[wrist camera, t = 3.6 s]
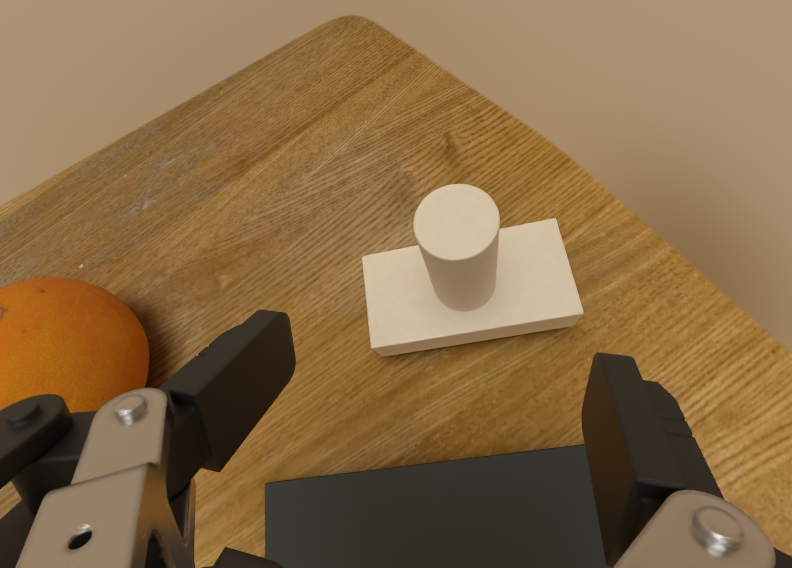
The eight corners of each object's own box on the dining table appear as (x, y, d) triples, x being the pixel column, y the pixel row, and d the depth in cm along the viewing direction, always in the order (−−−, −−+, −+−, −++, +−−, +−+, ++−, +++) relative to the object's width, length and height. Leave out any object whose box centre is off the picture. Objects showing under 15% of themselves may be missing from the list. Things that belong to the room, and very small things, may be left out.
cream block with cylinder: (547, 243, 23) (584, 129, 15) (571, 329, 22) (630, 258, 13) (375, 276, 25) (315, 190, 16) (384, 359, 23) (323, 313, 14)
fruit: (201, 309, 26) (92, 260, 19) (143, 489, 23) (-16, 515, 16) (74, 292, 29) (-67, 244, 22) (5, 453, 26) (-187, 460, 18)
